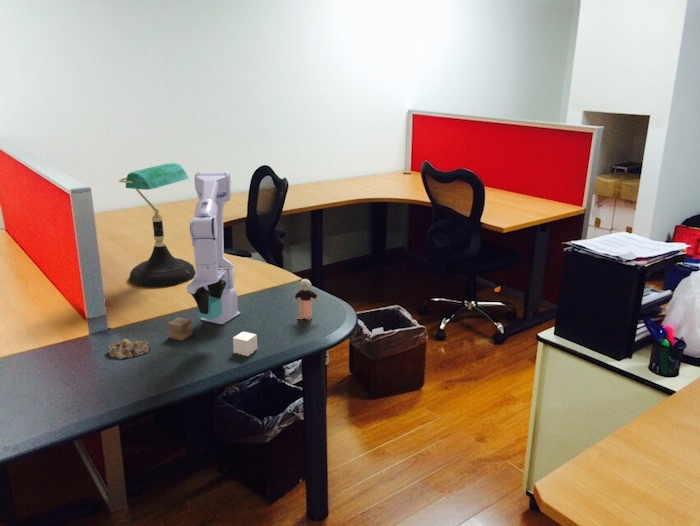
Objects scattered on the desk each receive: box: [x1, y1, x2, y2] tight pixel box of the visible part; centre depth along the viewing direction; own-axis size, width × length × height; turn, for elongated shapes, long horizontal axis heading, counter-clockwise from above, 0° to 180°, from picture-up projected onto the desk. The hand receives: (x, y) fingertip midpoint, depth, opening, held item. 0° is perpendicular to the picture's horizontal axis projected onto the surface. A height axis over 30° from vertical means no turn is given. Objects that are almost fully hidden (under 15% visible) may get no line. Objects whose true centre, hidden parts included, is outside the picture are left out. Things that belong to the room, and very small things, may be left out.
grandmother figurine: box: [292, 278, 320, 321], centre depth 176 cm, size 8×4×13 cm, turn 99°
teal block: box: [196, 296, 222, 320], centre depth 158 cm, size 4×4×4 cm
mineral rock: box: [108, 338, 151, 360], centre depth 156 cm, size 11×4×8 cm
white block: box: [232, 331, 258, 357], centre depth 156 cm, size 4×4×4 cm
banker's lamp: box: [118, 162, 196, 288], centre depth 208 cm, size 26×23×40 cm
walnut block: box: [167, 317, 193, 341], centre depth 165 cm, size 4×4×4 cm
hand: (209, 309), depth 158 cm, fingers closed on teal block, 4 cm apart
